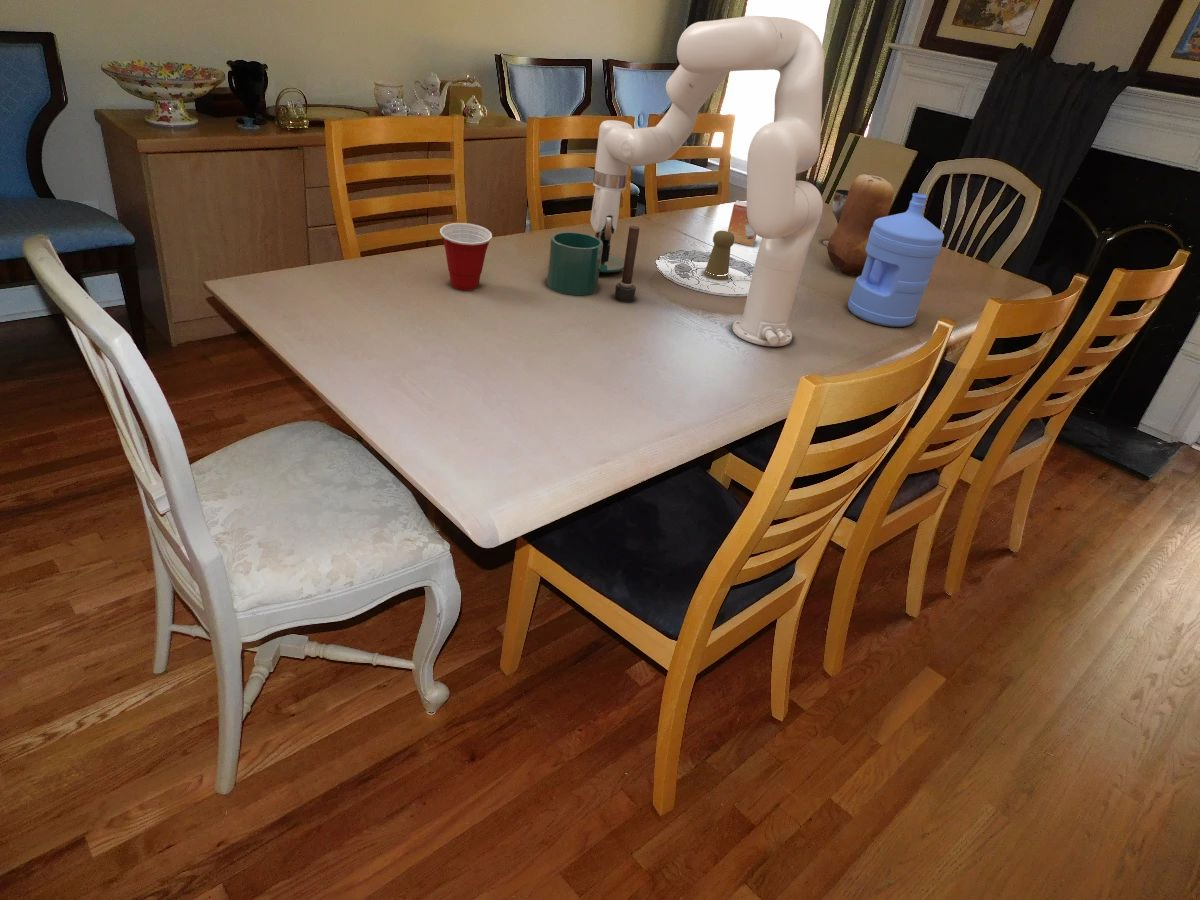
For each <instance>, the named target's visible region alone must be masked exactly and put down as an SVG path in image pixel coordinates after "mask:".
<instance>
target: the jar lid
mask: <svg viewBox="0 0 1200 900" xmlns="http://www.w3.org/2000/svg"><path fill="white" fill-rule="evenodd" d="M624 262H625V260H623V259H622V258H620V257H619V256H616V255H614V254H610V253H609V259H608V262H601V264H600V272H599V273H616V272H621V271H623V269H624Z"/></svg>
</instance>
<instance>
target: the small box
mask: <svg viewBox="0 0 1200 900" xmlns="http://www.w3.org/2000/svg"><path fill="white" fill-rule="evenodd" d="M727 232H730V233H732V234H733V235H734V237H735V240H734V243H735V244H740V245H743V246H748V247H753V246H754V244H755V242H756V239H757V236H758V235H757V234H755V233H754V231H753V230H752V229H751V227H750V225H749V222H748V217H747V201H741V200H737V199H736V200H735V202H734V203H733V206H732V211H731V215H730V219H729V224H728V228H727Z"/></svg>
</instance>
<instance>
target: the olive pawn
mask: <svg viewBox="0 0 1200 900" xmlns="http://www.w3.org/2000/svg"><path fill="white" fill-rule="evenodd" d="M734 240H735V237H734V235H733V234H732V233H730V232H728V230H718V231H716V232H715V233H714V234H713V236H712V242H713V246H712V248H711V253H710V255H709V258H708V261H707V264H706V267H705V270H704V273H703V274H704V276H705V277H707V278H709V279H712V280H717V281H725V280H728V278H729V273H730V271H729V270H730V259H731V248H732V247H733V245H734V244H735V242H734ZM706 271H707V272H706ZM708 272H709V273H708ZM710 273H711V274H710ZM727 273H728V275H726V276H717V275H724V274H727ZM713 274H714V275H713Z"/></svg>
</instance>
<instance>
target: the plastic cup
mask: <svg viewBox="0 0 1200 900" xmlns="http://www.w3.org/2000/svg"><path fill="white" fill-rule="evenodd" d="M439 235H440V236H441V237H442V241H443V246H444V249H445V256H446V263H447V269H448V272H449V273H448V274H449V280H450V284H451V286H452V288H454V289H456V290H461V291H473V290H475V289H477V288H478V287H479V285H480V281H481V280H480V279H481V274H482V272H483V268H484V263H485V258H486V254H487V250H488V246H489V244H490V242H491V240H492V239H493V233H492V232H491V231H490V230H489V229H488V228H487V227H484V226H482V225H478V224H474V223H468V222H454V223H447V224H445V225H443V226H442V227H441V228H439Z"/></svg>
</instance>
